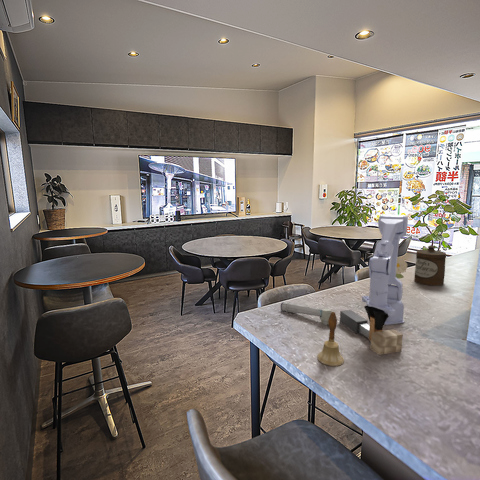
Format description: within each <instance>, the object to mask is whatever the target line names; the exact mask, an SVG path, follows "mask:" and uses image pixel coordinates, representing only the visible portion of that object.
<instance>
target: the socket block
mask: <svg viewBox="0 0 480 480" xmlns="http://www.w3.org/2000/svg"><path fill="white" fill-rule="evenodd" d="M403 335H404V334H402V333H401V332H399V331H398V330H396V329H394V328H393V329H387V330H386V329H385V330H383V331H379V332H372V333H371V341H370V350H371V351H372V352H374V353H375V354H377V355H378V356H379V355H388V354H391V353H392V354H393V353H399V352H402V350H403V347H402V346H403Z"/></svg>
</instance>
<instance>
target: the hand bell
mask: <svg viewBox="0 0 480 480" xmlns="http://www.w3.org/2000/svg"><path fill="white" fill-rule="evenodd" d="M337 324H338V318H337V314H336V312H335V311H332V312H331V315H330V317H329V321H328V325H327V326H328V329H329V330H328V331H329V334H328V340H325V341H324V343H323V346H322V350H321V351H320V352H319V353H318V354H317V357H316V358H317V360H318V361H319V362H320V363H322V364H323V365H326V366H330V367H340V366H341V365H343V364H344V362H345V360H344V356H342V355H341V353H340V347H339V343H338V342H337V341H335V332H336V328H337Z"/></svg>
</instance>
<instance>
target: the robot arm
mask: <svg viewBox="0 0 480 480" xmlns="http://www.w3.org/2000/svg"><path fill="white" fill-rule="evenodd" d="M408 223H409V218H408V216H407V215H392V214H391V215H389V214H381V215H380V216H378V223H377V228H378V230H379V232H380V235H381V238H380V239H381V240H380V241H378V242H377V243H376V246H375V249H374V252H373V256H372V257H370V258H369V262H368V273H369V276H368V277H369V293H368V295H362V297H361V302H363V303H366V304H365V306H364V307H363V308H364V310H365V312H366V314H367V317H368V323H370V316H375V320H376V330H382V329H383V330H384V326H390V325H396V324H402V323H403V324H404V323H405V321H404V311H405V306H404V303H403V301H402V299H403V292H404V291H403V289H404V288H403V285H404V284H403V282H402V281H401V280H400V278H399V279H398V278H396V268H397V258H398V257H399V256H398V255H399V245H400V241H401V238H403V237H405V236H406V234H407V232H408V231H407V230H408ZM389 284H391V285H389Z"/></svg>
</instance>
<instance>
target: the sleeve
mask: <svg viewBox="0 0 480 480" xmlns="http://www.w3.org/2000/svg"><path fill="white" fill-rule="evenodd" d="M363 322H365V323H367V324H368V323H369V319H366V318H364V317H363V316H362V315H360V314H358V313H356V312H355V311H354V310H352V309H344V310H340V313H339V323H341V324H342V325H343V326H345V327H346V328H347V329H348V330H350V331H352V332H353V333H355V335H356V334H358V335H359V334H361V333H360V332H359V331H358V323H363ZM368 325H369V324H368Z"/></svg>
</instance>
